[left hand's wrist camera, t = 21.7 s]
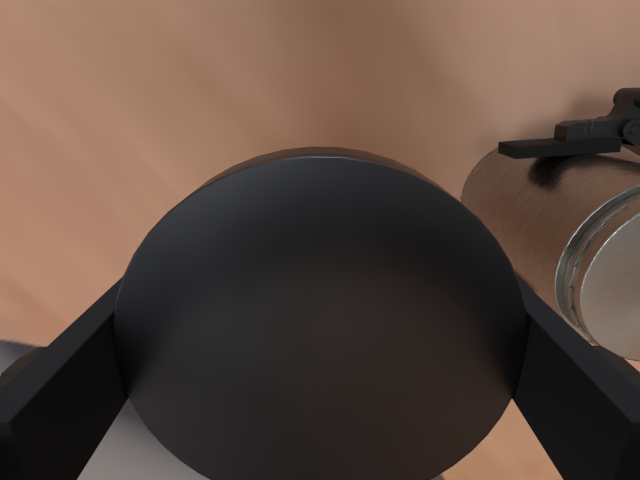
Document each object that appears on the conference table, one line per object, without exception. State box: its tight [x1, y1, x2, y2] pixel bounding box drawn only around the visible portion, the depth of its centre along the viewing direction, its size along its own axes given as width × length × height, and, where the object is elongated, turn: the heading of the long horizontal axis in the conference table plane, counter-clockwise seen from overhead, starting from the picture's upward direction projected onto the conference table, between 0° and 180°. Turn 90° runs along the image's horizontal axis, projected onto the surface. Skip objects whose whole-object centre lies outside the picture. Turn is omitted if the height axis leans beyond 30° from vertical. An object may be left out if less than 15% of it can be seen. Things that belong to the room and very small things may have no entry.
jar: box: [461, 140, 640, 361], centre depth 27 cm, size 10×10×16 cm
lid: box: [113, 147, 527, 480], centre depth 11 cm, size 11×11×2 cm
